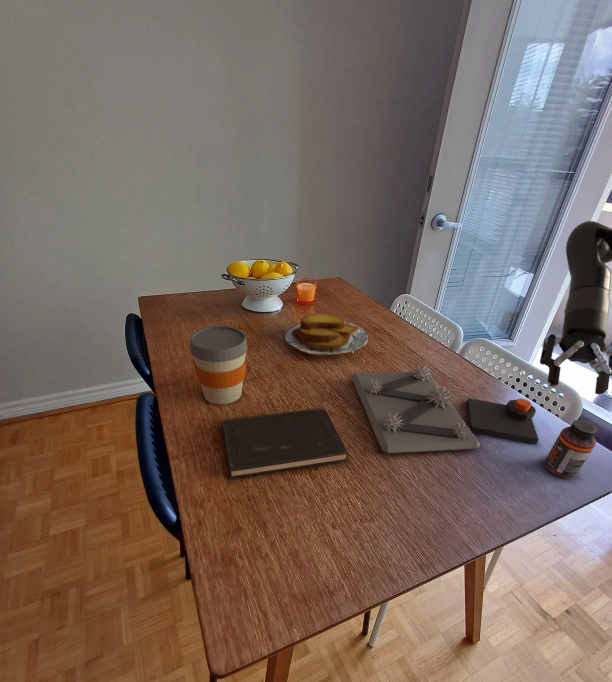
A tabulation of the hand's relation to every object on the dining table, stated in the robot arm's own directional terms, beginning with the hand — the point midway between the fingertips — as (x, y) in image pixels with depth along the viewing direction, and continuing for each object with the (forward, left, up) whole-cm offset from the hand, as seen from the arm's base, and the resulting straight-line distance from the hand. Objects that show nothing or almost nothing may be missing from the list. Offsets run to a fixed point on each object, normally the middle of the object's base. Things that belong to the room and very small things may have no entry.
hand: (576, 389), depth 80 cm
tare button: (+5, -7, -11) cm, 14 cm away
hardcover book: (+56, +19, -14) cm, 61 cm away
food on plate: (+57, -30, -14) cm, 66 cm away
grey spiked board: (+31, -1, -14) cm, 34 cm away
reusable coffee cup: (+75, +6, -14) cm, 77 cm away
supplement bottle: (0, +9, -14) cm, 17 cm away
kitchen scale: (+10, -4, -14) cm, 17 cm away
